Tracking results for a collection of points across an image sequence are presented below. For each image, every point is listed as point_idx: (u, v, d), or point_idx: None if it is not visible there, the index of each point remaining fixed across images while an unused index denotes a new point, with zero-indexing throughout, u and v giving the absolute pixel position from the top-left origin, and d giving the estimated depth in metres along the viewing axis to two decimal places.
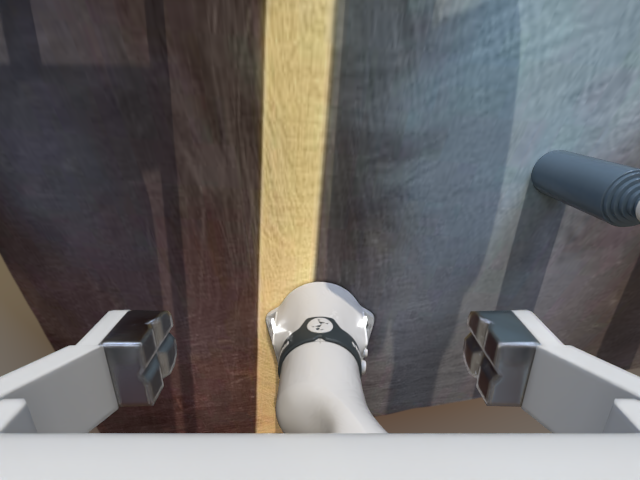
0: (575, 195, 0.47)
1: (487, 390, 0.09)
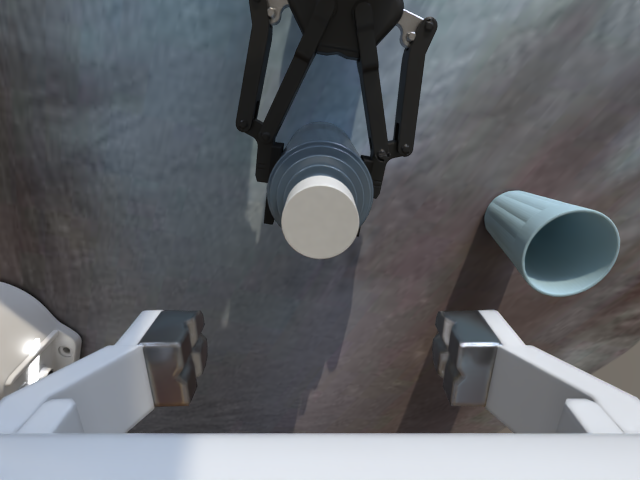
0: None
1: (450, 390, 0.09)
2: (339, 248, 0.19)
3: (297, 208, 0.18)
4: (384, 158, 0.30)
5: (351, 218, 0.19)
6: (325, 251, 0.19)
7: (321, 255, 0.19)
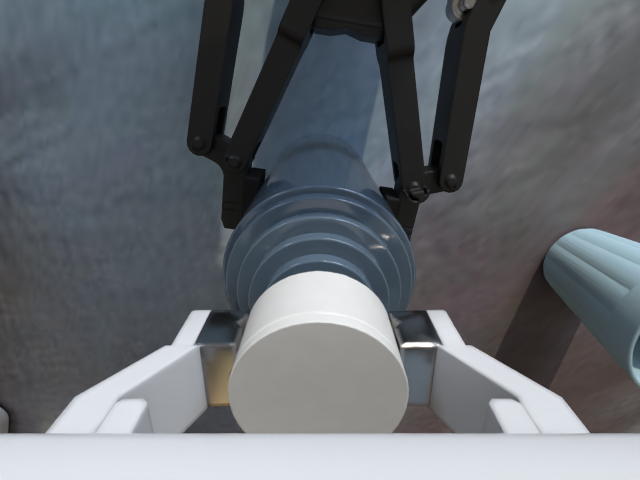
0: None
1: None
2: None
3: (264, 369, 0.08)
4: (419, 196, 0.19)
5: (391, 389, 0.08)
6: None
7: None
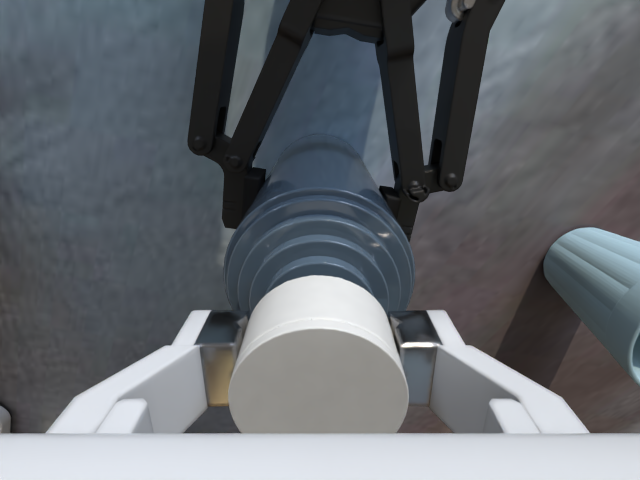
0: None
1: None
2: (385, 368, 0.08)
3: None
4: (419, 195, 0.19)
5: (307, 345, 0.07)
6: (389, 396, 0.08)
7: (399, 403, 0.08)
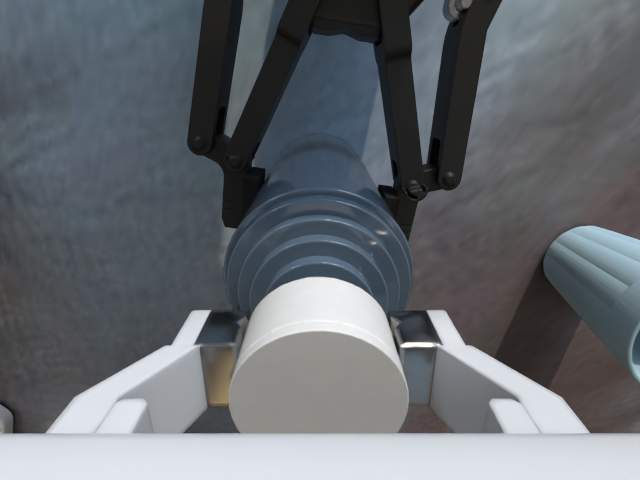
0: None
1: None
2: (274, 351, 0.08)
3: None
4: (418, 194, 0.19)
5: (246, 413, 0.08)
6: (310, 348, 0.08)
7: (321, 338, 0.07)
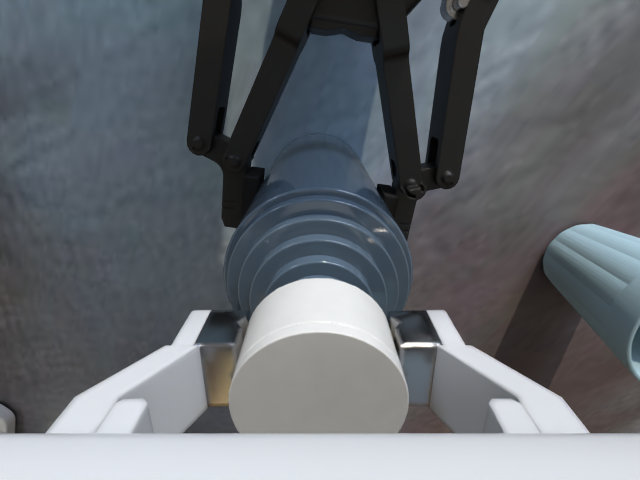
0: None
1: None
2: None
3: (362, 368, 0.08)
4: (416, 193, 0.19)
5: None
6: (248, 411, 0.08)
7: (237, 403, 0.08)
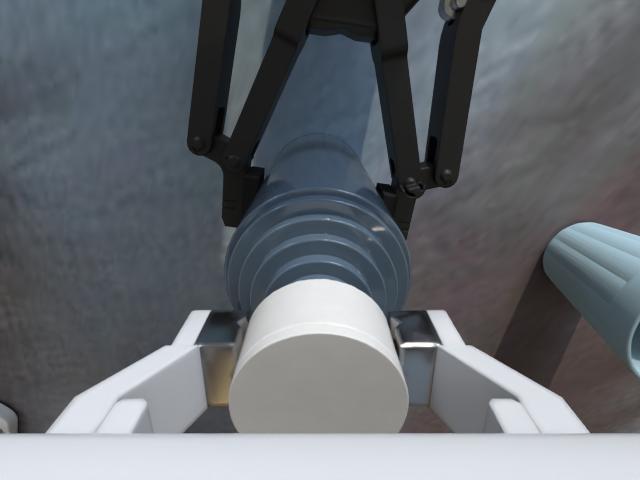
0: None
1: None
2: None
3: (269, 374, 0.08)
4: (415, 192, 0.19)
5: (391, 405, 0.08)
6: None
7: None
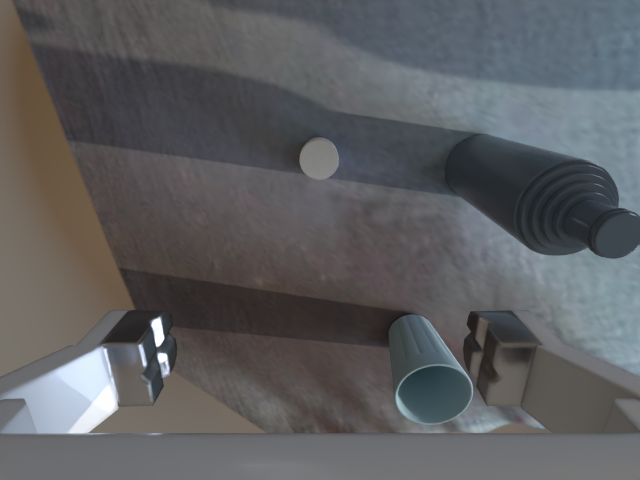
0: (532, 149, 0.28)
1: (487, 390, 0.09)
2: (334, 152, 0.37)
3: (309, 170, 0.37)
4: None
5: (318, 143, 0.36)
6: (334, 159, 0.37)
7: (336, 162, 0.37)
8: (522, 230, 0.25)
